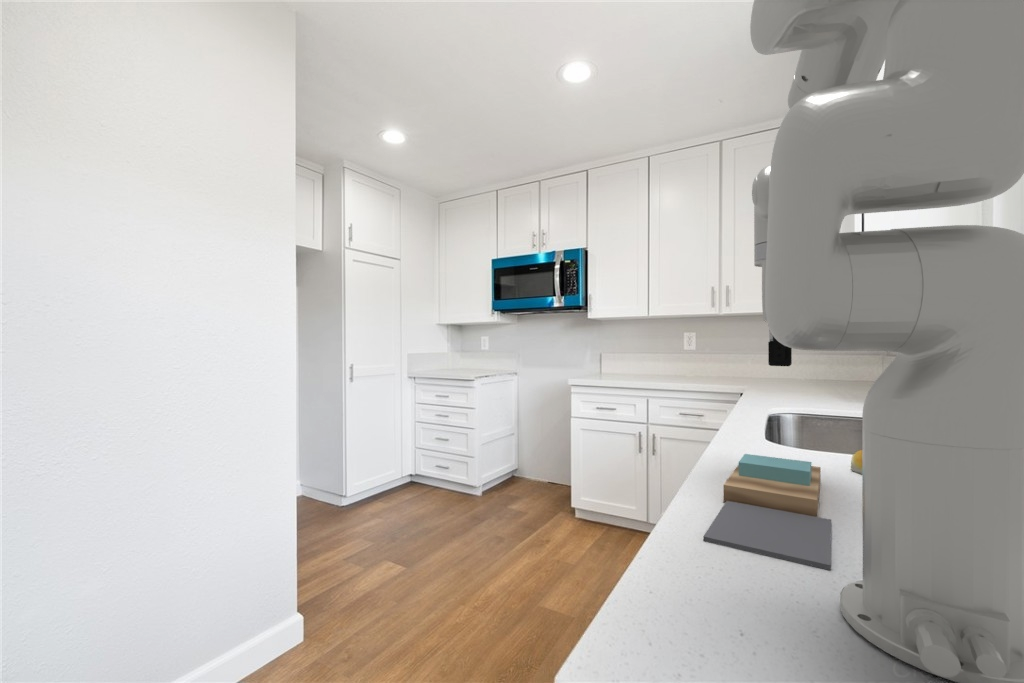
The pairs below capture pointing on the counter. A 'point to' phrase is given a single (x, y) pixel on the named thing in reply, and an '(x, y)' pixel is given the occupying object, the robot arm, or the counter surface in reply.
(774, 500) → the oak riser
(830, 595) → the counter surface
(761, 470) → the teal tile
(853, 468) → the bread roll
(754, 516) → the charcoal mat
